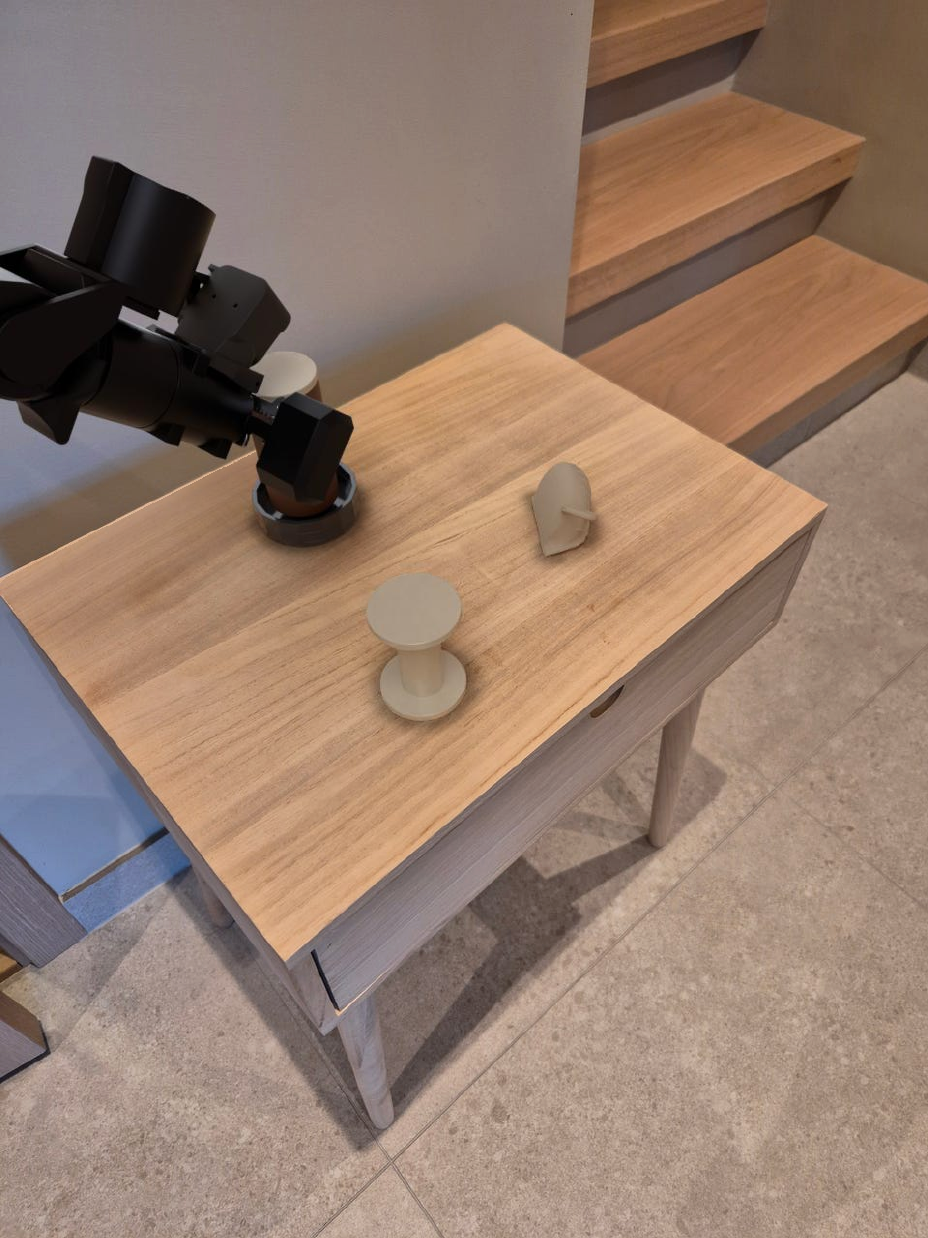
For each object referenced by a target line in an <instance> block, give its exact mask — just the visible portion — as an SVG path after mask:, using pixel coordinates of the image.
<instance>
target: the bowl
mask: <svg viewBox="0 0 928 1238" xmlns="http://www.w3.org/2000/svg"><path fill="white" fill-rule="evenodd" d="M336 475H337V480H338V486H339V494H338V497H337V499H336V501H335V502H334V503H333V504H332V505H331V506H330V507H329V508H328V509H326V510H324V511H323V512H321V513H318V514H315V515H312V516H307V517H292V516H287V515H284V514H282V513H280V512H278V511H277V510H276V509H275V508H274V507H273V506H272V505H271V502H270V499H269V495H268V492H267V488H266V485H265V484H264V483H262V482H260V480H259V477H258V478H257V480H256V482H255V484H254V485H253V488H252V490H251V496H252V500H251V501H252V506H253V510H254V513H255V516H256V519H257V522H258V524H259V526H260V528H261V530H262V532H263V534H265V535H266V537H268V538H269V539H270V540H272V541H274V542H276V543H278V544H280V545H283V546H287V547H291V548H310V547H318V546H321V545H325V544H329V543H330V542H333V541H336V540H338V538H340V537H342V536H344V535H345V534H346V533H347V532H348V531H350V530H351V529H352V528H353V526H354V525H355V524H356V522H357V521H358V518H359V515H360V512H361V501H360V495H359V490H358V484H357V480H356V474H355V473H354V471H353V470H352V469H351V468H350V467H349V466H347V464H345V462H342V461H340V463H339V466H338V468H337V471H336Z"/></svg>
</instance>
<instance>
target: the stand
mask: <svg viewBox="0 0 928 1238" xmlns="http://www.w3.org/2000/svg"><path fill="white" fill-rule="evenodd" d="M365 617H366V622H367V625H368V628H369V630H370V632H371V633H372V635H373V636H374V637H375V638H376V639H377V640H378V641H379V642H381V643H382V644H384V645H386V646H388V647H390V648H393V649H396V652H397V654H396V655H395V656H394V657H392V658H391V659H390V660H389V661H388V662H387V664H386V665H385V666H384V668H383V669H382V672H381V675H380V678H379V690H380V695H381V698H382V700H383V703H384V704H385V705H386V707H387V708H388V709H389V710H390V711H391V712H393V713H394V714H395V715H397V716H398V717H401V718H403V719H405V720H409V721H414V722H429V721H433V720H437V719H440V718H442V717H443V718H444V717H445V716H447V715H448V714H450V713H451V712H453V711H454V710H456V708H457V707H458V706H459V705H460V704H461V702H462V700H463V699H464V697H465V694H466V691H467V674H466V670H465V668H464V666H463V664H462V663H461V661H460V660H459V659H458V658H457V657H456V656H455V655H453V654H452V653H451V652H449V651H447V650H445V649H442V643H443V642H445V641H447V640H448V639H449V638H451V636H452V635H454V633H455V632H456V631H457V629H458V628H459V626H460V624H461V621H462V618H463V601H462V598H461V595H460V593H459V592H458V590H457V589H456V587H455V586H454V585H453V584H451V583H450V582H449V581H447V580H446V579H445V578H442V577H440V576H438V575H435V574H432V573H428V572H427V573H426V572H408V573H403V574H399V575H396V576H393V577H391V578H389V579H387V580H385V581H384V582H382V583H381V584H380V585H378V586H377V587H376V588H375V589H374V591H373V592H372V593H371V594H370V596H369V598H368V600H367V603H366V607H365Z"/></svg>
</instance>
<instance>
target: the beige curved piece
mask: <svg viewBox="0 0 928 1238" xmlns="http://www.w3.org/2000/svg"><path fill="white" fill-rule="evenodd" d="M530 500H531V505H532V509H533V513H534V517H535V521H536V525H537V529H538V536H539V541H540V546H541V550H542V553H543V556H544V557H545V558H547V557H549V556H553V555H556V554H559V553H562V552H566V551H568V550H572V549H575V548H577V547H579V545H581V544H582V543H584V542H585V539H586V537H587V536H588V535H589V529H590V527H591V524H590V523H591V522H596V521H597V520H598V517H599V516H598V514H597V513H596V512H593V511H591V506H592V488H591V485H590V482H589V479H588V476H587V475H586V473H584V471H583V469H582V468H581V467H579V466H578V465H577V464H576V463H571V462H568V461H561V462H557V463H555V464H554V465H552V466H551V467H550V468H549V469H548V470H547V471H546V472H545V474H544V475H543V477H542V478H541V480H540V482H539V483H538V485H537V488H536V490H535V493H534V495H532V496H531V499H530Z"/></svg>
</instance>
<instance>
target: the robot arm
mask: <svg viewBox="0 0 928 1238" xmlns="http://www.w3.org/2000/svg"><path fill="white" fill-rule="evenodd" d="M84 176H85V177H84V182H83V191H82V196H81V200H80V203H79V205H78V209H77V212H76V215H75V218H74V221H73V224H72V227H71V230H70V233H69V236H68V237H67V238H68V239H67V242H66V245H65V247H64V250H63V253H62V254H61V253H59V252H57V251H55V250H53V249H50V248H48V247H46V246H44V245H42V244H39V243H37V242H30V243H27V244H22V245H18V246H15V247H12V248H8V249H5V250H1V251H0V400H4V401H8V402H15V403H16V404H17V409H18V412H19V414H20V417H21V420H22V422H23V424H24V425H26V426H28V427H29V428H31V429H33V430H34V431H36V432H37V433H39V434H41V435H42V436H44V437H45V438H47V439H49V440H50V441H52V442H54V443H55V444H57V445H59V446H65V445H67V444H68V443H69V441H70V438H71V437H72V436H71V435H72V433H73V430H74V427H75V425H76V422H77V419H78V416H79V413H82V414H85V415H88V416H92V417H95V418H99V419H103V420H106V421H109V422H113V423H116V424H120V425H123V426H126V427H130V428H133V429H137V430H141V431H143V432H145V433H147V434H149V435H151V436H152V437H154V438H156V439H158V440H160V441H161V442H163V443H165V444H167V445H171V446H175V447H178V448H179V447H180V444H181V442H183V443H186V444H189V445H193V446H195V447H196V448H198V449H200V450H202V451H204V452H206V453H207V454H209V455H211V456H213V457H215V458H217V459H223V460H227V458H228V456H229V453H230V450H231V448H232V445H233V444H234V445H236V446H237V447H240V448H244V449H245V448H247V446H248V444H249V442H250V438H251V436H252V433H253V434H255V435H257V436H259V437H261V438H263V440H262V444H264V446H263V449H262V451H261V454H260V456H259V459H258V458H257V461H256V464H255V469H256V472H257V476H258V478H259V480H260V482H262V483H264V484H265V485H267V486H269V487H271V488H273V489H274V490H276V491H278V492H280V493H282V494H283V495H285V496H287V497H289V498H291V499H292V500H294V501H296V502H300V503H304V504H308V505H312V506H315V505H317V504H320V503H322V502H324V500H325V497H326V495H327V492H328V490H329V488H330V485H331V483H332V480H333V478H334V476H335V473H336V471H337V468H338V466H339V463H340V462H342V458H343V457H344V454H345V452H346V448H347V447H348V444H349V442H350V439H351V437H352V434H353V432H354V430H355V426H354V421H353V419H352V416H350V415H348V414H347V413H344V412H343V411H341V410H338V409H336V408H335V407H331V406H329V405H327V404H325V403H324V402H323V403H321V402H319V401H317V400H314V399H312V398H310V397H308V396H306V395H303V394H301V393H298V392H294V393H293V394H291V395H290V396H288V397H287V398H285V397H282V396H280V397H277V398H276V399H275V400H274V401H273V402H270V401H268V400H266V399H264V398H262V397H260V396H257V395H255V394H257V393H258V391H259V389H260V386H261V384H262V381H263V378H264V375H262V374H260V373H258V372H256V371H254V370H252V369H250V367H252V366H254V365H256V364H257V363H258V362H259V361H260V360H261V359H262V358H263V356H264V355H265V354H267V352H268V351H269V350H270V348H271V347H272V346H273V344H274V342H276V340H277V338H278V337H279V336H280V334H281V333H285V331H286V330H287V329H288V327H289V326H290V325H291V324H290V323H291V322H292V316H291V313H290V312H289V311H288V309H287V307H286V306H285V305H284V303H283V302H282V301H281V300H280V298H279V296H278V295H277V294H276V293H275V291H274V290H273V288H272V287H271V285H270V284H269V283H268V281H267V280H266V279H265V278H263V277H262V276H259V275H256V274H254V273H252V272H249V271H246V270H243V269H241V268H239V267H236V266H234V265H231V264H223V265H220V266H218V265H216V264H213V263H210V264H209V265H208V266H207V270H208V271H209V272H208V273H207V272H202V271H200V270H197V269H198V268H199V267H198V266H199V264H200V261H201V258H202V255H203V252H204V250H205V247H206V244H207V242H208V239H209V236H210V234H211V231H212V228H213V226H214V222H215V221H216V217H217V214H216V213H215V212H214V210H212V209H210V208H209V207H208V206H206V205H205V204H204V203H202V202H201V201H199V200H198V199H196V198H194V197H193V196H191V195H189V194H186V193H184V192H181V191H178V190H176V189H173V188H170V187H168V186H165V185H162V184H160V183H159V182H157V181H155V180H153V179H152V178H149V177H146V176H144V175H142V174H140V173H137V172H136V171H134V170H132V169H130V168H129V167H127V166H126V165H124V164H123V163H121V162H120V161H117V160H114V159H111V158H108V157H106V156H103V155H100V154H94V155H92V156H91V158H90V161H89V164H88V166H87V170H86V173H85V175H84ZM123 307H124V308H127V309H129V310H131V311H133V312H136V313H138V314H140V315H142V316H145V317H146V318H148V319H149V318H150V319H151V320H154V321H159V318H160V315H161V312H162V313H165V314H168V315H170V316H171V317H174V318H176V319H177V327H176V328H175V330H174V331H171V330H168V329H166V328H164V327H162V326H160V325H158V324H155V323H152V324H150V325H148V326H146V327H143V326H141V325H138V324H135V323H134V322H130V321H129V320H126V319H124V318H122V317H120V315H121V312H122V310H123ZM253 393H255V394H253ZM253 411H255V412H257V413H259V414H261V415H262V416H265V417H266V418H269V419H271V420H270V422H267V421H265V420H263V419H261V418H259V417H257V416H255V415H253V414H252V413H253ZM273 416H274V417H273Z"/></svg>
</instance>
